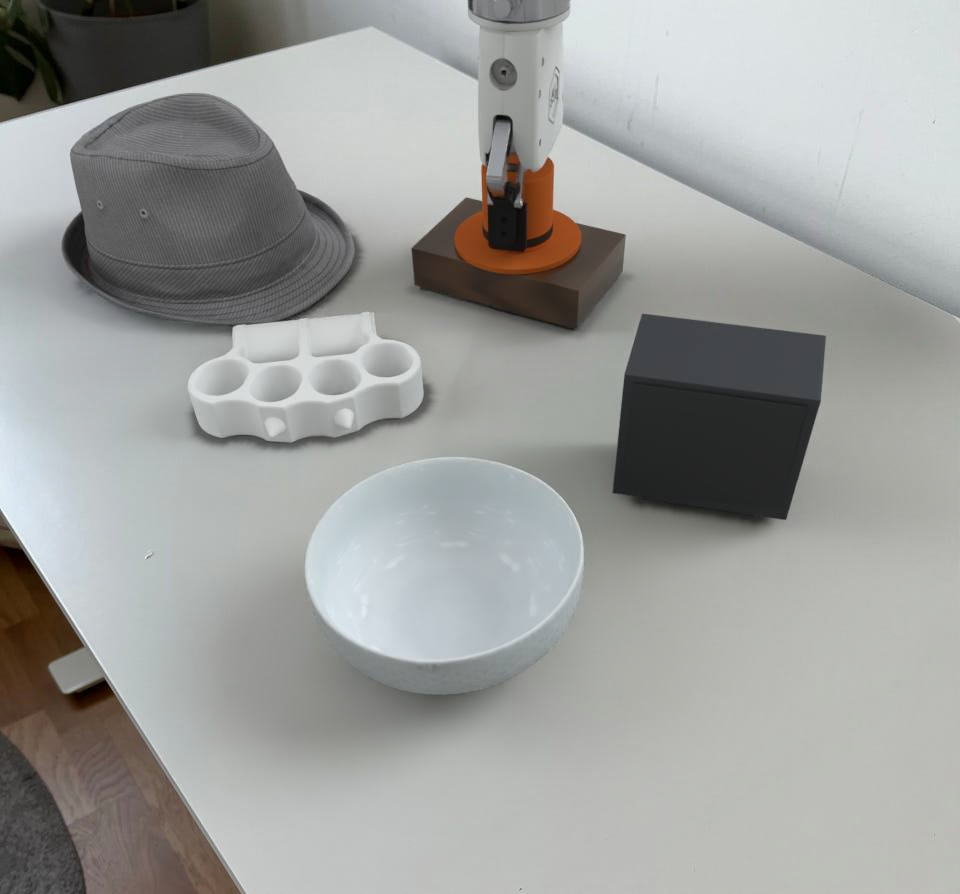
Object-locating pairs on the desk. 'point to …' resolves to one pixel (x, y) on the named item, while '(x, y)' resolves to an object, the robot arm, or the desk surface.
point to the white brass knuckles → (306, 380)
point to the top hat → (546, 229)
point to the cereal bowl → (445, 574)
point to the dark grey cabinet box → (717, 414)
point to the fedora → (198, 217)
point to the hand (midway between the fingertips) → (518, 224)
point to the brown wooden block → (535, 295)
